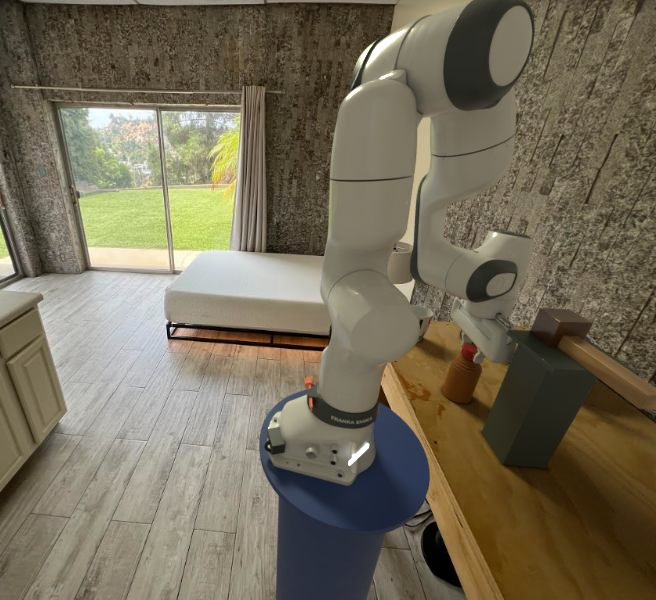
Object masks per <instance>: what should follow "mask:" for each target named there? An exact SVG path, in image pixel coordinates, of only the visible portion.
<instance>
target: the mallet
mask: <svg viewBox="0 0 656 600" xmlns="http://www.w3.org/2000/svg"><path fill="white" fill-rule="evenodd" d="M593 325H594V322H592V321H590V320H589V319H587V318H586V317H584V316H582V315H581V314H579V313H577V312H576V311H574V310H572V309H570V308H544V307H540V308H539V309H538V311H537V314H536V316H535V318H534V320H533V323H532V325H531V327H530V329H529V331H530V332H531V333H532V334H533V335H535V336H536V337H537V338H538V339H540V340H541V341H542V342H544V343H545V344H546V345H547V346H549V347H558V348H559V349H560V350H562V351H563V352H564V353H566V354H567V355H568V356H570V357H571V358H572V359H574V360H575V361H576V362H578V363H579V364H580V365H582V366H583V367H584V368H586V369H587V370H588V371H590V372H591V373H592V374H594V375H595V376H596V377H598V378H597V379H599V380H600V381H601V382H603V383H604V384H606V386H607V387H609V388H611V389H612V390H614V391H615V392H616V393H617V394H619V395H620V396H621V397H623V398H624V399H625V400H627V401H628V402H629V403H631V404H632V405H633V406H634V407H636V408H637V409H638V410H649V411H650V410H651V411H656V386H654V385H652V384H651V383H649V382H647V380H645V379H643V378H642V377H640V375H638V376H637V375H636V374H634V373H633V372H631V371H630V370H628V369H627V368H625V367H624V366H622V365H621V364H619V363H618V362H616V361H615V360H613V359H612V358H610V357H609V356H607V355H606V354H604V353H602V352H601V351H599V350H598V349H596V348H595V347H593V346H592V345H590V344H589V343H587V342H586V341H584V340H585V338H586V336H587V335H589V332H590V330H591V328H592V326H593Z"/></svg>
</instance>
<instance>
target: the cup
mask: <svg viewBox="0 0 656 600" xmlns="http://www.w3.org/2000/svg"><path fill="white" fill-rule="evenodd" d="M411 306H412V308H413V310H414V312H415V314H416V316H417V318H418V321H419V324H420V335H419V339H418V341H417V343H418V342H420V341H422V340H423V338H424V336H425V335H426V333H427V331H428V329H429V327H430V324H431V321H432V318H433V315H434V312H433V311H432V310H431V309H429V308H427V307H425V306H422V305H411Z"/></svg>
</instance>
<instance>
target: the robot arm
mask: <svg viewBox="0 0 656 600" xmlns="http://www.w3.org/2000/svg"><path fill="white" fill-rule="evenodd" d="M535 26H536V25H535V17H534V13H533V10H532V8H531V6H530V5H529V4H528V3H527V1H526V0H471V1H470V2H469V3H465V4H461V5H457V6H454V7H451V8H448V9H444V10H442V11H438V12H436V13H433V14H426V15H424V16H421V17H419V18H417V19H415V20H413V21H411V22H408V23H407V24H405V25H403V26H401V27H400V28H398V29H396V30H395V31H393V32H391V33H386V34H384V35H382V36H380V37H379V38H378V39H376V40H375V41H373V42H371V44H369V45H368V46H367V47H366V48H365V49H364V50H363V51H362V53H361V54H360V55H359V57H358V58H357V61H356V63H355V65H354V68H353V71H352V75H351V80H350V88H349V89H350V90H349V93H348V94H347V95H346V96H345V97H344V99H343V100H342V101H341V103H340V105H339V109H338V113H337V116H336V117H337V118H336V122H335V127H334V135H333V140H332V146H331V147H332V148H331V155H330V164H329V165H330V166H329V169H330V170H329V193H328V194H329V195H328V224H327V225H328V227H327V238H326V243H325V250H324V255H323V259H322V260H323V261H322V268H321V271H320V274H319V293H320V297H321V299H322V301H323V304H324V305H325V308H326V310H327V312H328V315H329V319H330V325H331V336H330V340H329V343H328V345H326V347H325V348H324V349H323V350H322V352H321V354H320V365H319V376H318V381H317V382H316V383H315V379H314V378H313V377H312V376H306V377H305V378H304V388H305V390H307V389H308V391H307V395H304V396H302V397H299V398H297V399H294V400H291V401H289V402H287V403H286V404H285V406H284V407H283V409H282V411H280V412H277V413H276V414H275V415H274V416H273V418H272V419H271V421H270V424H269V428H268V429H267V442H266V443H265V445H264V448H265V450H266V451H268V455H269V458H270V460H271V462H272V464H273V465H274V466H275V467H278V468H282V469H285V470H289V471H293V472H296V473H300V474H304V475H308V476H311V477H315V478H319V479H323V480H326V481H330V482H334V483H338V484H341V485H345V486H349V485H351V484H352V483H353V482H354V480H355V479H356V477H357V475H358V474H359V473H361V472H363V471H364V470H366V469H367V468H368V467H370V466H371V464H372V463H373V461H374V459H375V455H376V449H375V444H374V422H375V421H376V418H377V415H378V411H379V402H380V401H381V400H380V399H381V398H380V396H379V395H380V391H381V385H382V381H383V376H384V372H385V370H386V367H387V366H388V364H389V363H394V362H396V361H398V360H401V359H402V358H404V357H405V356H407V355H408V354H409V353H410V352H412V350H414V348H415V346H416V345H417V344H418V342H419V341H418V339H419V335H420V324H419V321H418V318H417V316H416V314H415V312H414V310H413V308H412V306H413V305H412V304H411V302H410V300H409V299H408V297H407V295H405V294H404V293H403V292H402V291H401V290H400V289H399V288H398V287H397V286H396V285H395V284H394V283H392V282H391V280H390V279H389V274H388V265H389V261H390V258H391V255H392V253H393V250H394V248H395V247H396V245H397V243H398V242H400V241H401V240H402V239H403V238H404V237H405V235H406V234H407V231H408V224H409V218H410V210H411V203H412V195H413V188H414V182H415V181H414V180H415V173H416V165H417V154H418V129H419V126H420V124H421V121H422V120H423V119H425V118H429V119H430V122H429V123H430V124H429V125H430V126H429V150H430V151H429V152H430V161H429V168H428V172H427V173H426V174H425V175H424V176H423V177H422V179H421V180H420V182H419V184H418V188H417V192H416V197H415V198H416V200H415V208H414V209H415V211H414V228H413V244H412V249H411V253H410V258H409V263H408V268H409V272H410V276H411V278H412V280H414V281H415V282H417V283H419V284H423V285H425V286H427V287H433V288H435V289H437V290H439V291H441V292H444V293H446V294H448V295H452V296H454V299H453V302H452V306H451V311H450V316H451V320H452V321H453V322H454V323H455V324H456V325H457V326H458V328H459V329H460V331H461V330H462V339H461V341H462V342H461V345H460V347H461V349H462V348H463V346H464V344H472V343H471V342H473V343H474V344H475V345H476V346H477V347H478V348H477V351H478V352H477V353H476V354H474V353H473V354H472V357H471V359H472V360H473V362H474V363H478V364H480V365H481V364H483V362H484V359H485V358H486V359H487V360H488V361H489V362H490V363H493V364H508V363H511V360H512V358H513V355H514V353H515V351H516V348H517V343H516V342H515V341H514V340H513V339H512V338H510V337H509V336H508V335H507V331H508V330H516V329H515V325H514V323H513V321H511V320H510V317H511V315H512V312H513V310H514V308H515V304H516V302H517V299H518V296H519V287H520V285H521V283H522V282H523V281H524V280H525V278H526V275H527V273H528V270H529V267H530V263H531V259H532V256H533V251H534V239H533V237H531V236H530V235H528V234H524V233H519V232H515V231H509V230H504V229H492V230H489V231H488V233H487V235H486V237H485V239H484V240H483V243H482V244H481V245H480V246H479V247H477V248H474V249H473V250H472V249H468V248H466V247H465V248H464V247H462V246H458V245H455V244H453V243H451V242H449V241H448V240H447V239H446V238H445V229H446V228H445V227H446V220H447V213H448V207H449V205H450V204H453V203H458V202H462V201H466V200H469V199H471V198H474V197H476V196H478V195H481V194H482V193H485V192H487V191H488V190H489V189H491V188H493V187H494V186H495V185H496V184H498V183H499V182H500V181H501V180H502V179H503V178H504V176H505V175H506V174H507V173H508V171H509V170H510V168H511V165H512V162H513V158H514V153H515V145H516V131H517V130H516V129H517V127H516V126H517V104H516V103H517V102H516V90H515V84H516V83H517V82H518V81H519V80H520V78H521V76H522V75H523V73H524V71H525V69H526V67H527V65H528V63H529V61H530V57H531V54H532V51H533V47H534V42H535V32H536V31H535V28H536V27H535ZM507 318H509V319H507ZM417 341H418V342H417ZM380 403H381V402H380ZM338 476H341V477H338Z"/></svg>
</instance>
